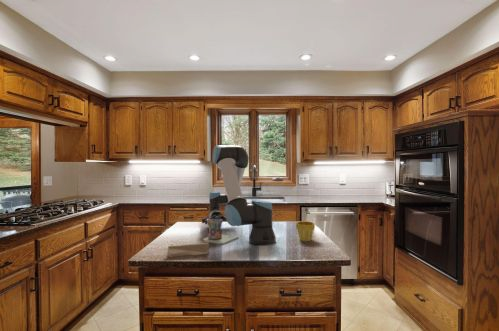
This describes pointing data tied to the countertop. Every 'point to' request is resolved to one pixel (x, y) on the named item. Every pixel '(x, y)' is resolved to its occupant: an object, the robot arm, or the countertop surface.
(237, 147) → the robot arm
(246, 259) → the countertop surface
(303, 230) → the plant pot
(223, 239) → the board
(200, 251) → the mug holder
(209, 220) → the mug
